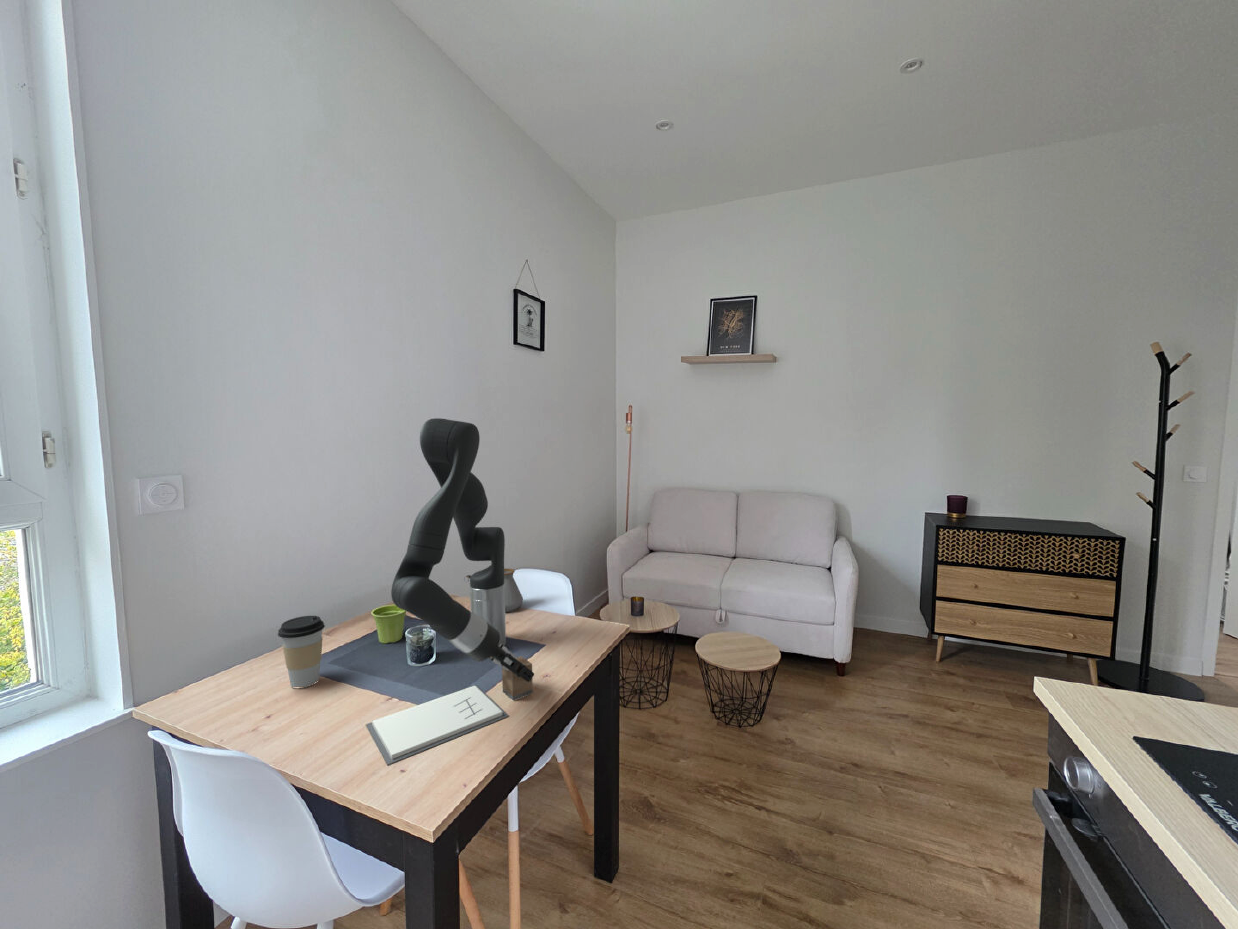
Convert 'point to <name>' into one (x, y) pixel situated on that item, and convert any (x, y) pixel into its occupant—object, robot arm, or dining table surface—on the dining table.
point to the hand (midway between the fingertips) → (522, 670)
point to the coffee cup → (302, 649)
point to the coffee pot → (510, 591)
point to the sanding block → (516, 682)
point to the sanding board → (433, 723)
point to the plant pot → (389, 623)
